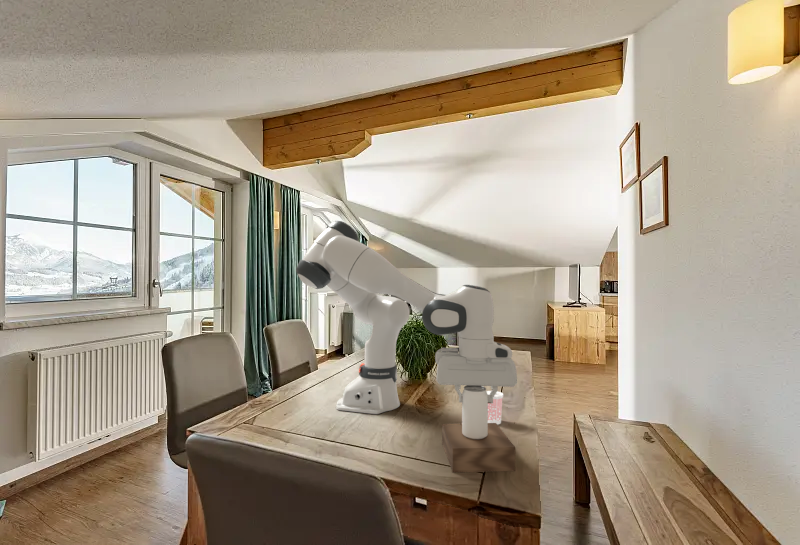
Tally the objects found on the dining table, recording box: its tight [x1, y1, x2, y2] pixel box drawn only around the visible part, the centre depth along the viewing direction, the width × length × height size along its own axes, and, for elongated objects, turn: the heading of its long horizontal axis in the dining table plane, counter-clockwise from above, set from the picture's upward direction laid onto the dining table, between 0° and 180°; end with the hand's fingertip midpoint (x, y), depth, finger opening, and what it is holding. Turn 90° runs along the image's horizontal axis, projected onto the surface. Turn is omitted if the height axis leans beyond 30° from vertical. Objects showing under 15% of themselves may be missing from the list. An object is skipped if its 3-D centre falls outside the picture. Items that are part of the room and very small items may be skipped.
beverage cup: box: [486, 390, 504, 426], centre depth 121 cm, size 6×6×14 cm
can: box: [461, 385, 488, 440], centre depth 98 cm, size 6×6×12 cm
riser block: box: [441, 422, 516, 473], centre depth 98 cm, size 15×15×6 cm
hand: (475, 402), depth 98 cm, fingers closed on can, 6 cm apart
